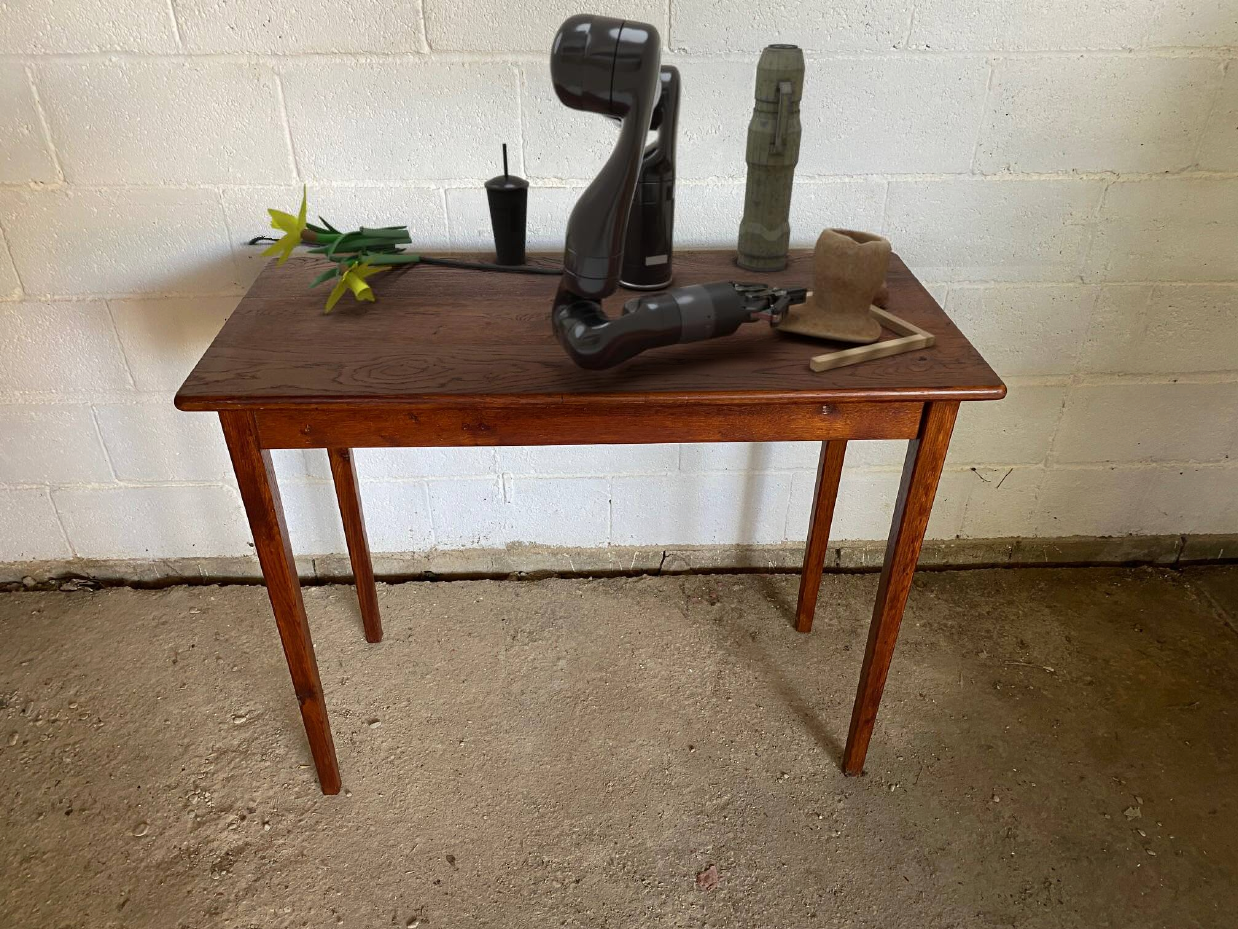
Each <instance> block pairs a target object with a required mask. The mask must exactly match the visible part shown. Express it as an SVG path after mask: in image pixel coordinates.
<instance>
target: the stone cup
mask: <svg viewBox="0 0 1238 929" xmlns="http://www.w3.org/2000/svg"><path fill="white" fill-rule="evenodd" d="M892 250H893V249H892V245H891V243H890V242H889V240H888V239H886V238H884V237H883V236H881V235H877V234H874V233H871V232H867V231H861V230H854V229H849V228H848V229H847V228H834V227H827V228H825V229H823V230H822V231H821V233H820V234H819V236H818V238H817V240H816V243H815V245H814V249H813V253H812V254H813V255H812V291H813V294H812V297H811V299H810V300H809V301H808V302H806V303H804V304H797V305H791V306H789V313H788V315H787V317H786V318H785V319H784V320H783V321H782V323H781V324H780V325H779V326H778V327H770V328H771V329H774V330H777V331H783V332H788V333H792V334H797V335H802V336H808V337H813V338H819V339H826V340H832V341H839V342H846V343H849V342H850V343H854V344H855V343H856V344H871V343H874V342H876V341H877V340H879V338H880V337H881V336H882V325H881V324H879V323H878V322H877V321H875V320H874V319H872V318H871V317H870V315H869V310H870V306H871V303H872V301H873V299H874V297H875V295H876V293H877V292H878V290H879V288H880V287H881V285H882V283H883V281H884V279H886V276H887V273H888V269H889V266H890V262H891V258H892V252H893V251H892Z"/></svg>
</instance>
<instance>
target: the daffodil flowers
mask: <svg viewBox="0 0 1238 929" xmlns="http://www.w3.org/2000/svg"><path fill="white" fill-rule="evenodd" d="M306 184H307V183H304V184H303V189H302V190H303V197H302V202H301V205H300V209H299V213H298V216H295V215H293V214H290V213H288V212H285V211H282V210H279V209H274V208H267V212H268V215H269V216H270V217H271V218H270V219H271V220H270V221H269V222H270V224H269V226H270V228H271V229H275V230H279V231H282V232H285V233H286V234H285V235H283V236H281V237H280V238H281V239H280V240H278V241H277V242H276V241H275V243H273V244H272V245H271V246H270V247H268V248H267V249H266V250H264V251H263V252H262V253H261V254H260V255H259V258H265V257H272V256H274V255H278V254H279V253H280V252H282V253H281V255H280V257H279V259H278V261H277V263H276V265H275V269H277V268H278V267H280V266H281V265H282V264H284V263H285V262H286V261H287V260H288V259H289V258H290V257H291V255H292V253H293V251H294V249H296V248H297V247H298V245H300V244H299V243H301V242H302V240H305V241H309V242H316V243H332V244H331V245H327V246H320V247H317V248H314V249H309V250H307V251H306V253H308V254H314V255H315V254H317V255H325V257H326V262H329V261H331V262H332V263H336V264H338V265H337V267H333V268H330V269H328V270H326V271H324V272H323V273H321V274H320V275H319V276H318V277H316V278H315V279H314V280H313V281H312V282H311V284H309V286H308V287H307V288H306V290H311V289H313V288H315V287H317V286H319V285H320V284H322V283H325V282H326V281H328V280H330V279H333V278H335V281H337V280H338V278H339V276H340V277H341V278H340V279H339V280H338V282H337V285H336V286H335V287H334V288H333V289H332V291H331V294H330V295H329V297H328V299H327V302H326V305H325V312H324V315H327V314H328V312H329V311H330V310H332V308H333V307H334V306H335V305H336V303H337V302H338V301H339V300H340V298H341V297H342V296H343V295H344V294H345V292H346V291H347V289H350V290H351V291H352V292H353V294H354V295H355V298H356V299H357V301H360V302H362V301H365V299H366V300H368V301H370V302H375V301H376V300H375V296H374V295H373V289H372V287H370V286H369V284H368V283H367V281H366V280H365V278H366V277H368V276H371V275H374V274H377V273H378V272H381V271H387V270H391V269H392V268H393V267H392V266H388V265H398V264H399V265H400V264H407V263H409V264H410V263H420V262H422V261H420V260H419V256H420V254H418V253H412V254H408V253H404V252H405V251H406V250H407V247H403V248H400V247H396V245H406V244H407V245H408V244H413V239H412V237H411V236H410V232H409V230H408V229H406V228H408V225H396V226H395V225H394V226H385V227H378V228H371V227H364V226H363V225H361V226H359V230H354V231H353V230H352V231H348V232H345V233H342V232H341V231H339V230H337V229H336V228H335V227H333V226H332V225H331V224H329V223H328V222H327V221H326V219H324V218H323V217H322V216H320V215H317V216H318V219H319V220H320V221H321V223H322V224H323V225H324V226H325V227H326V228H327V229H326V228H323V227H320V226H317V225H315V224H312V223H309V222H307V213H308V209H309V206H308V205H307V189H306V188H307V187H306V186H307V185H306ZM370 251H374V252H370ZM352 253H357V254H352ZM391 253H402V254H398V255H393V254H391ZM337 254H339V256H337ZM340 254H350V255H347V256H346V255H343V256H342V255H341V256H340ZM351 254H352V255H351ZM407 254H408V255H407ZM335 255H336V256H335Z"/></svg>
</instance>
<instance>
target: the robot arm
mask: <svg viewBox="0 0 1238 929" xmlns="http://www.w3.org/2000/svg"><path fill="white" fill-rule="evenodd" d="M662 54H663V52H662V38H661V34H660V32H659V30H658V28H657V27H656V26H655V25H653V24H651V23H648V22H644V21H637V20H631V19H626V18H620V17H614V16H606V15H601V14H593V13H577V14H572V15H571V16H569V17H567V18H566V19H565V20H564V21H563V22H562V23H561V24H560V26H559V27H558V30H557V31H556V33H555V36H554V37H553V41H552V43H551V48H550V54H549V76H550V81H551V82H550V83H551V85H552V90H553V92H554V94H555V96H556V97H557V100H558V101H559V102H560V103H561V104H562V105H563V106H564V107H565V108H568V109H571V110H573V111H576V112H581V113H589V114H593V115H594V114H595V115H599V116H600V117H602V118H604V119H605V120H607V121H609V122H612V124H613V125H614V126H615V127H616V128H618V129H620V130H619V134H618V137H617V141H616V143H615V146H614V149H613V151H612V152H611V154H610V156H609V158H608V159H607V160H606V162H605V164H604V165H603V166H602V168H601V169H600V171H599V172H598V173H597V175H596V176H595V178H593V180H592V181H591V182H590V184H589V185H588V186H587V187H586V189H585V190H584V191H583V193H582V194H581V195H580V197H579V198H578V199H577V201H576V202H575V204H574V205H573V207H572V209H571V212H570V214H569V217H568V221H567V224H566V229H565V236H564V237H565V238H564V252H563V253H564V254H563V267H562V269H542V268H537V267H529V266H518V265H514V266H506V265H501V264H488V263H487V264H486V263H475V262H466V261H459V260H457V261H456V260H448V259H442V258H434V257H427V256H420V255H419V260H420V261H421V262H423V263H430V264H439V265H444V266H453V267H461V268H469V269H470V268H471V269H480V270H481V269H482V270H490V271H491V270H493V271H505V272H521V273H532V274H540V275H553V276H554V275H555V276H556V275H557V276H560V275H562V276H561V279H560V282H559V284H558V287H557V290H556V293H555V297H554V300H553V304H552V306H551V312H550V327H551V331H552V335H553V337H554V339H555V341H556V342H557V343H558V344H559V346H560V347H561V349H562V350H563V351H564V352H565V353H566V355H567V357H569V359H570V360H571V361H572V362H573V363H574V365H576V366H577V367H578V368H579V369H582V370H585V371H589V372H591V371H592V372H601V371H607V370H609V369H613V368H615V367H617V366H619V365H621V364H623V363H625V362H626V361H629V360H631V359H633V358H635V357H637V356H639V355H641V354H643V353H644V352H645V351H648V350H655V349H659V348H665V347H670V346H674V345H690V344H695V343H700V342H705V341H709V340H714V339H715V340H716V339H720V338H725V337H729V336H732V335H734V334H735V333H736V332H737V331H738V330H739V328H740V327H741V325H743V324H754V323H755V324H756V323H758V322H759V321H760V320H762V321H768V323H769V324H768V325H769V327H770V328H771V327H778V326H779V325H780V324H781V323H782V321H783V320H784V319H785V318H786V317H787V315H788V313H789V306H791V305H797V304H802V303H804V302H805V301H806V296H807V292H808V289H807V288H805V287H804V286H802V285H799V284H798V285H793V286H785V287H781V288H780V287H778V286H770V285H769V284H768V283H766V282H765V283H764V282H763V283H762V282H750V281H739V280H738V281H737V280H714V281H708V282H703V283H697V284H691V285H686V286H681V287H676V288H673V289H671V290H667V291H662V292H657V293H651V294H645V295H639V296H635V297H633V298H631V299H629V300H627V301H626V302H625V303H624V305H623V306H622V309H621V313H620V317H615V318H610V317H609V316H608V315H607V314H606V312H605V311H604V310H603V299H606V298H609V297H610V296H612V295H614V294H615V293H616V291H617V290H618V288H619V285H620V286H621V287H624V288H627V289H631V290H635V291H654V290H655V291H656V290H660V289H664V288H666V287H669V286H670V285H671V284H672V283H673V258H674V257H673V256H674V238H675V237H674V236H675V234H674V233H675V213H676V190H677V189H676V187H677V160H678V159H677V157H678V156H677V155H678V154H677V153H678V138H679V137H678V136H679V135H678V134H679V123H680V114H681V104H682V75H681V73H680V70H679V69H678V67H677V66H675V65H672V64H662ZM649 132H656V133H657V137H656V138H655V139H654V140H653V141H652V142H651V143H649V144H647V140H648V136H649ZM261 236H262V235H261ZM256 237H257V236H256ZM264 237H265V236H264ZM264 237H263V236H262V237H257V238H255V237H253V238H254V239H253V238H251V240H250V241H249V242H248V246H254V245H255V244H256V243H257V242H259V241H271V242H275V243H276V242H277V241H278V240H280V239H272V238H264ZM331 244H332V243H316V242H309V241H305V240H303V239H302V242H301V243H299V244H298V245H308V246H318V247H324V246H327V245H331ZM370 252H374V251H370ZM391 254H393V255H398V254H403V252H398V253H391ZM406 254H407V255H409V254H408V253H406Z"/></svg>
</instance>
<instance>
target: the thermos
mask: <svg viewBox="0 0 1238 929" xmlns="http://www.w3.org/2000/svg"><path fill="white" fill-rule="evenodd" d="M805 73H806V63H805V58H804V52H803V48H801V47H799V45H797V44H791V43H789V44H788V43H773V44H771V43H770V44H768V46H764V47H763V48H762V52H761V54H760V57H759V60H758V63H757V65H756V76H755V87H754V98H753V99H754V107H753V109H752V110H753V111H752V116H751V119H750V121H749V124H748V126H747V135H746V148H745V163H746V166H747V167H746V168H747V170H746V178H745V179H746V180H745V181H746V182H745V192H744V204H743V214H742V215H743V217H742V218H741V221H740V222H739V227H738V235H737V236H738V237H737V252H738V253H737V261H736V264H737V265H738V267H740V268H743V269H744V270H748V271H753V272H760V273H761V272H764V273H766V272H767V273H770V272H776V271H777V272H778V271H781V270H783V269H784V268H786V266H787V265H786V264H787V255H788V253H789V247H790V238H791V224H790V220H789V219H790V210H791V203H792V202H791V201H792V194H793V184H794V176H795V169H796V167H797V165H798V164H799V157H800V150H801V142H802V131H803V128H802V123H801V109H800V106H801V105H800V104H801V101H802V99H803V90H804V84H805V83H804V81H805Z"/></svg>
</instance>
